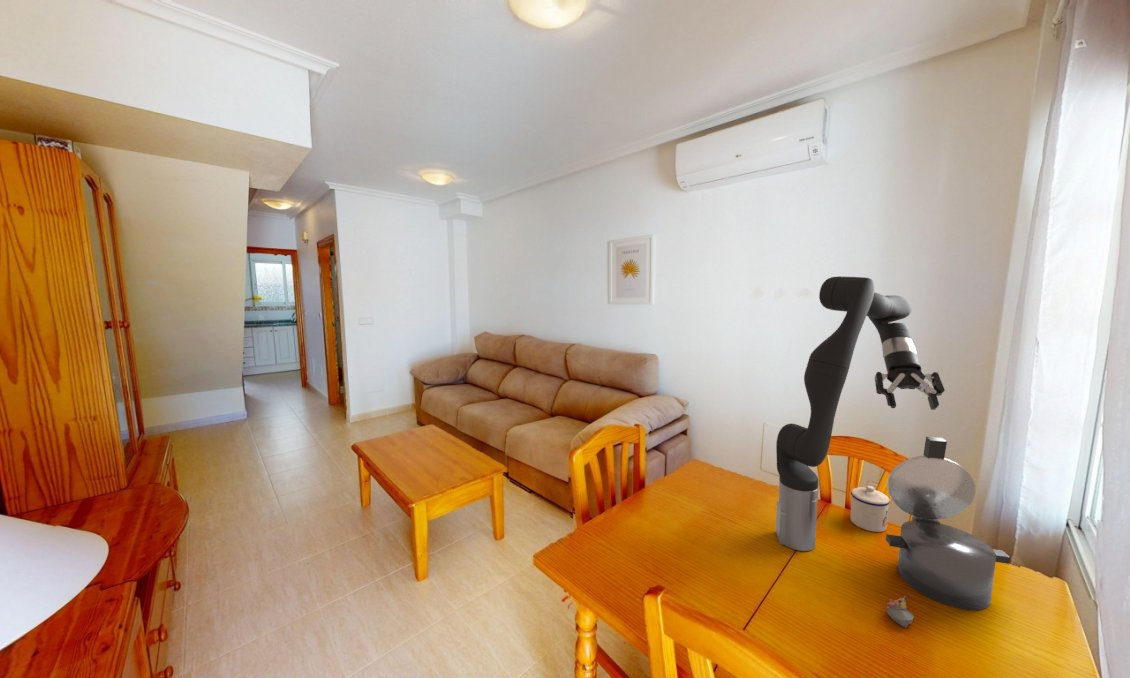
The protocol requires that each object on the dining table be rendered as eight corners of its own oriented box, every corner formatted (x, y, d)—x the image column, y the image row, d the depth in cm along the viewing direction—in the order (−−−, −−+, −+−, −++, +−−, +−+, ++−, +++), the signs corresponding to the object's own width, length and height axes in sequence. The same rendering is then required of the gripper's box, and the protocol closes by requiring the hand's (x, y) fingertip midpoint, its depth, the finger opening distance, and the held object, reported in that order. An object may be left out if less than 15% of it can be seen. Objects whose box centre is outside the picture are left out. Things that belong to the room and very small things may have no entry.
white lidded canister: (891, 536, 111) (894, 497, 110) (852, 528, 115) (855, 491, 114) (880, 513, 122) (882, 478, 120) (844, 507, 126) (846, 473, 124)
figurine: (909, 633, 81) (911, 604, 81) (882, 619, 84) (884, 592, 84) (916, 623, 84) (918, 595, 84) (890, 610, 88) (892, 584, 87)
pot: (900, 598, 90) (904, 553, 88) (870, 549, 106) (873, 511, 105) (1028, 621, 83) (1035, 573, 81) (975, 565, 99) (979, 524, 98)
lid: (885, 513, 103) (881, 507, 106) (969, 524, 98) (962, 517, 100) (895, 437, 98) (890, 433, 101) (984, 444, 93) (977, 439, 95)
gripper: (872, 350, 115) (884, 401, 107) (936, 349, 109) (953, 403, 101) (867, 362, 120) (877, 412, 112) (927, 362, 114) (943, 414, 106)
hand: (913, 407), depth 106 cm, fingers open, 8 cm apart
